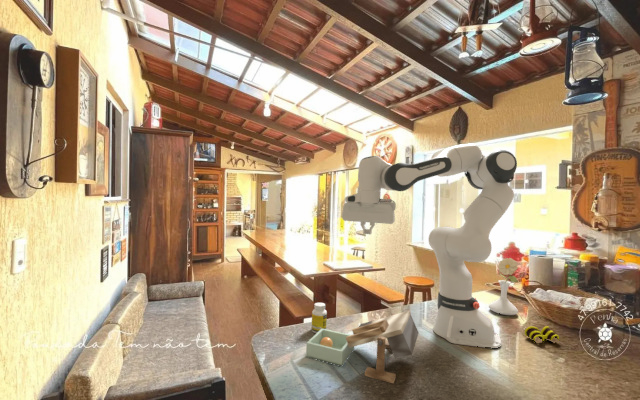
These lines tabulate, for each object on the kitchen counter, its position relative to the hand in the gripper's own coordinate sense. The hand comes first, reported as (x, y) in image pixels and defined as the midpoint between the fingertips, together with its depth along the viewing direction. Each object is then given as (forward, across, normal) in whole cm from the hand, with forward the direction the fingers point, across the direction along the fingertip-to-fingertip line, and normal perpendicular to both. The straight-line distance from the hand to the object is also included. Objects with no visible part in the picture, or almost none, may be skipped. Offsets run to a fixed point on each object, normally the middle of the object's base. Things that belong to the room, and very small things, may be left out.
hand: (367, 234), depth 123 cm
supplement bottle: (+35, +13, +14) cm, 40 cm away
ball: (+32, +5, +27) cm, 42 cm away
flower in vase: (+35, -52, -41) cm, 75 cm away
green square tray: (+35, +3, +27) cm, 44 cm away
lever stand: (+35, -14, +23) cm, 44 cm away
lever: (+32, -14, +23) cm, 42 cm away
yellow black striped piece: (+36, -61, -17) cm, 73 cm away
